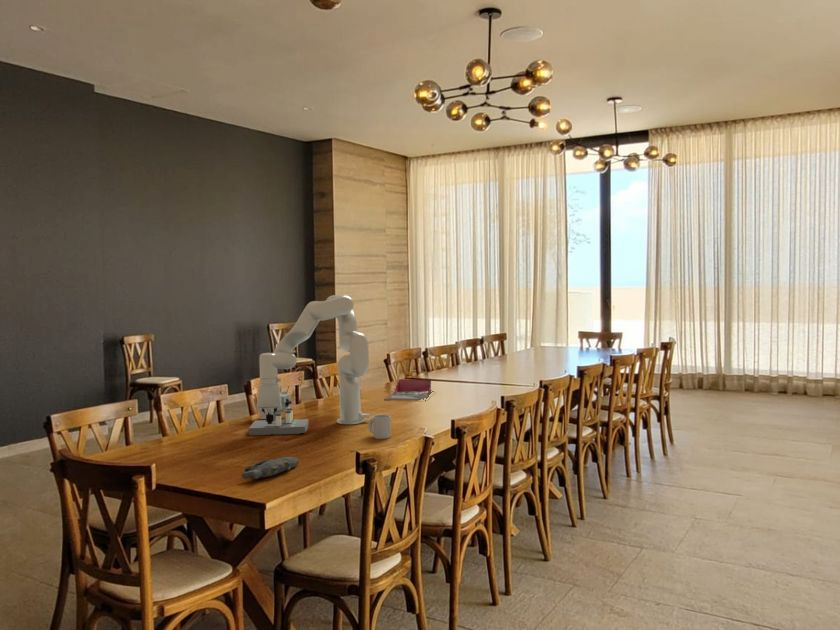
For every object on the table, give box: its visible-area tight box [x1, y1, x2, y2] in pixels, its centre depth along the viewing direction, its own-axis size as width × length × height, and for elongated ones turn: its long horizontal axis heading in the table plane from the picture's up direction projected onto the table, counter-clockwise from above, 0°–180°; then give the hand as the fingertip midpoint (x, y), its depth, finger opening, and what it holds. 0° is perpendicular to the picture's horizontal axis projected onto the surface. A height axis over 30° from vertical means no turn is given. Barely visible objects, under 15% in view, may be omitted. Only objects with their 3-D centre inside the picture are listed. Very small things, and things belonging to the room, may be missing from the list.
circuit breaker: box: [259, 385, 292, 420], centre depth 338 cm, size 8×14×15 cm, turn 78°
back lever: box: [287, 407, 294, 420], centre depth 317 cm, size 2×3×5 cm
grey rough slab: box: [241, 456, 300, 480], centre depth 241 cm, size 5×25×15 cm
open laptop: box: [383, 379, 434, 401], centre depth 401 cm, size 24×35×8 cm
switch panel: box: [248, 418, 309, 436], centre depth 311 cm, size 24×17×3 cm
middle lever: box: [284, 410, 291, 423], centre depth 311 cm, size 2×3×5 cm
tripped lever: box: [275, 412, 282, 426], centre depth 304 cm, size 2×3×5 cm
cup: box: [368, 414, 392, 440], centre depth 294 cm, size 7×10×9 cm
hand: (269, 423), depth 304 cm, fingers closed
